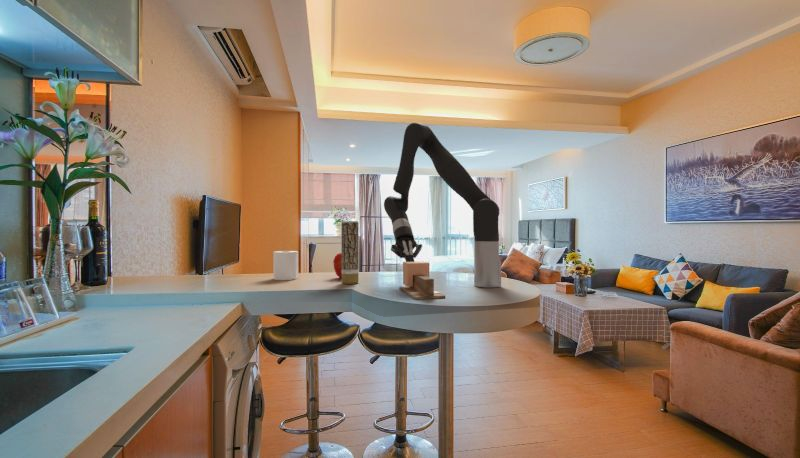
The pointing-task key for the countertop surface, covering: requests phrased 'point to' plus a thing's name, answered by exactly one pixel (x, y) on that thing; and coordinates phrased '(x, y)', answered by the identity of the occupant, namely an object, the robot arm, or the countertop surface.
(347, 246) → the brown tall block
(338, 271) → the apple
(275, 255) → the toilet paper
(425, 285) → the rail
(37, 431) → the countertop surface
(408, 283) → the light brown square block
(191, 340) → the countertop surface
